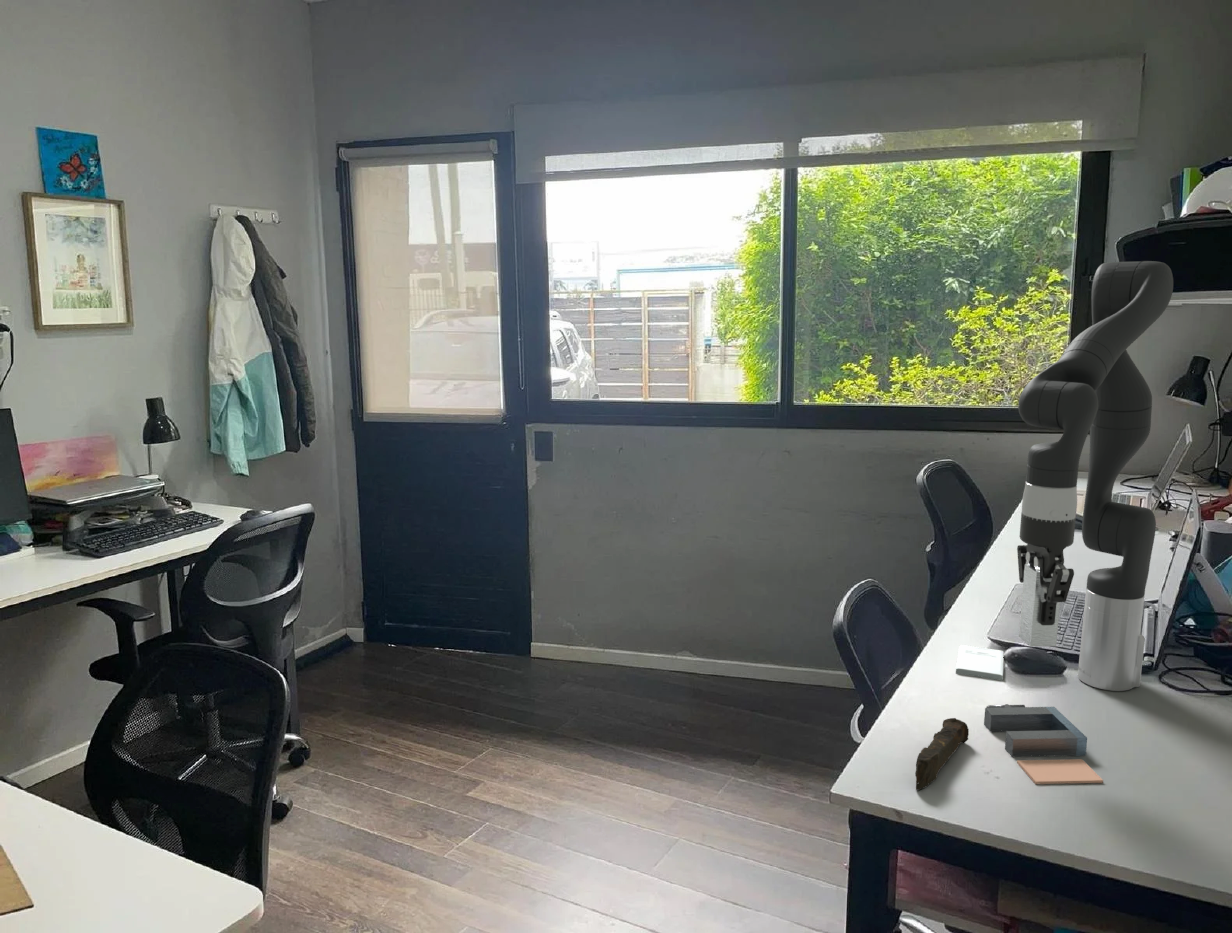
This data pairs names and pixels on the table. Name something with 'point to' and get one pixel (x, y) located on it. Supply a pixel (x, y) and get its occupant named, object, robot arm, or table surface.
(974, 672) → the external hard drive
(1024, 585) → the steel bar
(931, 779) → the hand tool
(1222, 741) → the table surface
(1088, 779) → the mat
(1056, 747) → the vise
